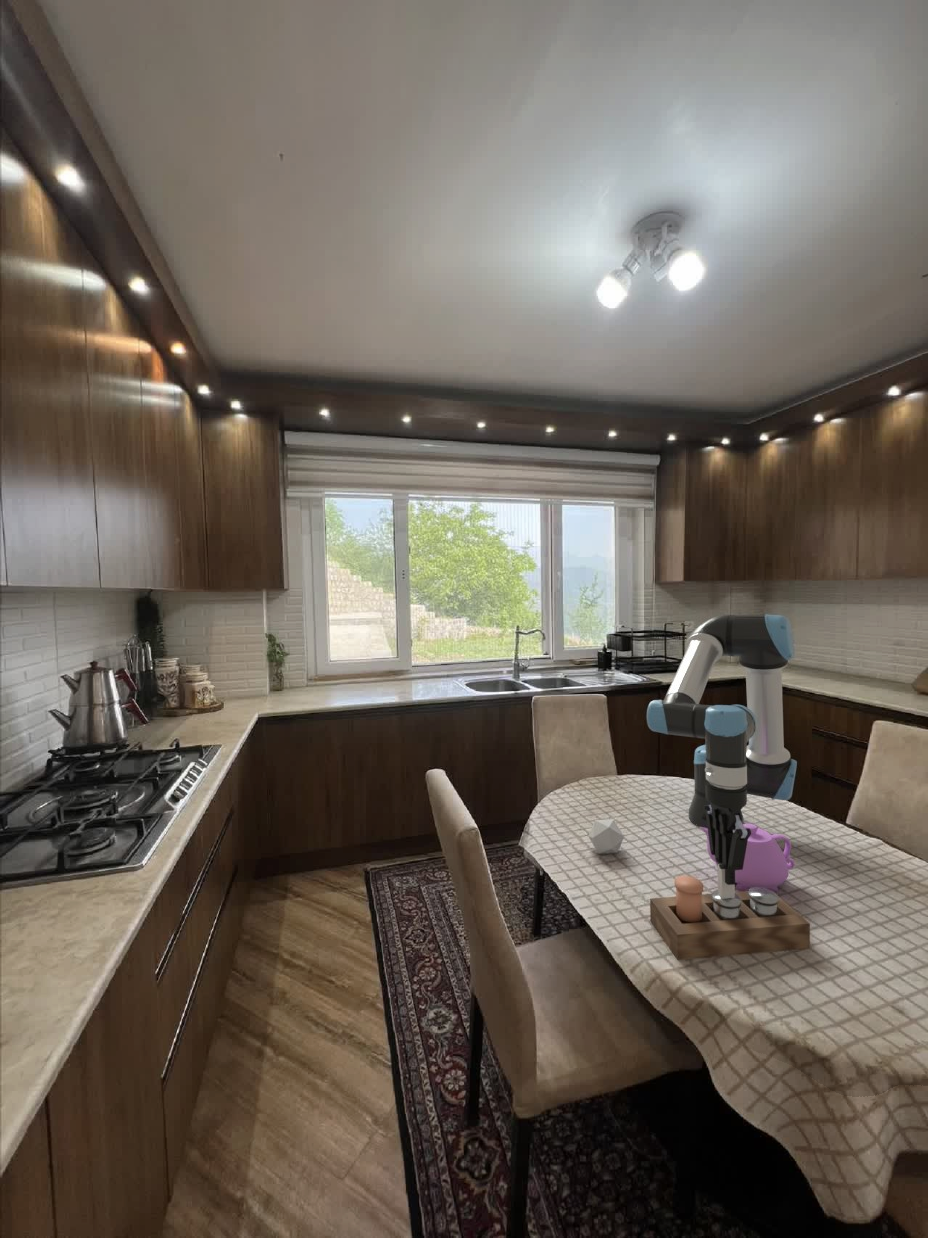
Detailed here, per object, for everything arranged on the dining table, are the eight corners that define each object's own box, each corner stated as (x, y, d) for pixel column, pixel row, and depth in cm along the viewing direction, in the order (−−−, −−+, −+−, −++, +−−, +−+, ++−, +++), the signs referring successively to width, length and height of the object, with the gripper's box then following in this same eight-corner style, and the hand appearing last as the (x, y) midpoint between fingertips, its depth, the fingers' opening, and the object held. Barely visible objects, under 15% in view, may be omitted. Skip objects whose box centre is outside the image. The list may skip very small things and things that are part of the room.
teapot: (712, 899, 120) (712, 840, 119) (688, 864, 135) (687, 812, 135) (812, 900, 118) (812, 841, 118) (776, 864, 134) (776, 812, 133)
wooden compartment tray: (769, 911, 115) (769, 889, 114) (809, 948, 103) (809, 923, 103) (650, 921, 113) (650, 898, 112) (677, 960, 101) (677, 934, 100)
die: (617, 865, 137) (633, 829, 140) (586, 846, 139) (602, 811, 141) (609, 860, 145) (623, 827, 148) (580, 843, 147) (595, 810, 149)
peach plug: (694, 906, 110) (694, 875, 109) (708, 922, 104) (708, 889, 104) (670, 908, 109) (669, 876, 109) (682, 924, 104) (682, 891, 104)
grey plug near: (767, 917, 111) (767, 886, 111) (784, 933, 106) (784, 900, 105) (742, 919, 111) (742, 887, 110) (759, 935, 105) (759, 902, 105)
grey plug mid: (731, 920, 111) (731, 888, 110) (747, 936, 105) (747, 903, 105) (706, 922, 110) (706, 890, 110) (721, 938, 105) (721, 906, 104)
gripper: (691, 773, 112) (692, 880, 113) (726, 796, 99) (727, 917, 100) (724, 771, 113) (725, 877, 114) (764, 794, 100) (764, 914, 101)
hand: (726, 896), depth 107 cm, fingers closed
